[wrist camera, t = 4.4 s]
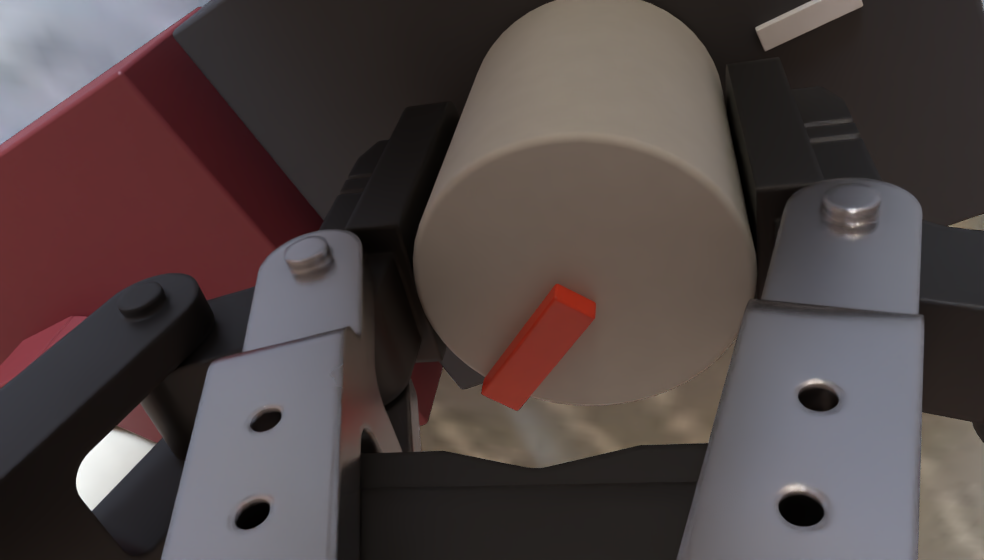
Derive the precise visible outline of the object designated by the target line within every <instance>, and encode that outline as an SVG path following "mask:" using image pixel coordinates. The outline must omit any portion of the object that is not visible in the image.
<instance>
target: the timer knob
mask: <svg viewBox="0 0 984 560" xmlns="http://www.w3.org/2000/svg"><path fill="white" fill-rule="evenodd" d="M413 272H414V280H415V285H416V289H417V294H418V297H419V300H420V302H421V305H422V307H423V310H424V313H425V315H426V316H427V318H428V320H429V322H430V324H431V325H432V327H433V329H434V330H435V332H436V333H437V334H438V336H439V337H440V338H441V340H442V341H443V342H444V343H445V344H446V345H447V347H448V348H449V349H450V350H451V351H452V352H453V353H454V354H455V355H456V356H457V357H458V358H460V359H461V360H462V361H463V362H464V363H466V364H467V365H468V366H469V367H471V368H472V369H473V370H475V371H476V372H478V373H479V374H481V375H482V376H484V377H485V378H484V381H483V386H482V391H481V394H482V395H484V396H486V397H488V398H490V399H492V400H494V401H497V402H499V403H501V404H503V405H505V406H507V407H509V408H512V409H514V410H516V411H518V410H519V409H520V408H521V407H522V406H523V404H524V403H525V402H526V401H527V400H528V398H529V397H533V398H536V399H540V400H545V401H550V402H554V403H561V404H570V405H586V406H600V405H614V404H621V403H627V402H633V401H638V400H642V399H645V398H649V397H653V396H656V395H659V394H661V393H664V392H667V391H669V390H672V389H674V388H676V387H678V386H680V385H682V384H684V383H686V382H688V381H690V380H691V379H693V378H694V377H696V376H697V375H699V374H700V373H702V372H703V371H705V370H706V369H707V368H708V367H709V366H711V365H712V364H713V363H714V362H715V361H716V360H718V359H719V358H720V357H721V355H722V354H723V353H724V352H725V351H726V350H727V349H728V348H729V347H730V345H731V344H732V343H733V341H734V340H735V338H736V337H737V335H738V333H739V329H740V326H741V322H742V318H743V315H744V311H745V308H746V305H747V303H748V301H749V299H751V298H753V299H754V296H755V292H756V283H757V261H756V252H755V247H754V243H753V238H752V233H751V228H750V223H749V218H748V213H747V208H746V203H745V198H744V193H743V189H742V184H741V179H740V174H739V169H738V164H737V159H736V154H735V149H734V144H733V139H732V135H731V130H730V125H729V120H728V115H727V110H726V105H725V100H724V95H723V90H722V86H721V82H720V78H719V74H718V72H717V69H716V67H715V64H714V62H713V60H712V58H711V56H710V55H709V53H708V51H707V50H706V48H705V46H704V45H703V44H702V42H701V41H700V40H699V39H698V38H697V36H696V35H695V34H694V33H693V32H692V31H691V30H690V29H689V28H688V27H687V26H686V25H685V24H684V23H682V22H681V21H680V20H679V19H677V18H676V17H674V16H673V15H671V14H670V13H668V12H667V11H665V10H663V9H661V8H659V7H657V6H655V5H653V4H651V3H648V2H645V1H642V0H555V1H552V2H549V3H547V4H544V5H542V6H540V7H538V8H536V9H534V10H532V11H530V12H529V13H527V14H526V15H524V16H523V17H521V18H520V19H518V20H517V21H515V22H514V23H513V24H512V25H511V26H510V27H509V28H508V29H507V30H505V31H504V32H503V33H502V34H501V36H500V37H499V38H498V39H497V40H496V42H495V43H494V44H493V45H492V47H491V48H490V50H489V51H488V53H487V55H486V56H485V58H484V59H483V62H482V64H481V66H480V68H479V71H478V73H477V75H476V78H475V81H474V83H473V86H472V88H471V91H470V94H469V96H468V99H467V101H466V104H465V107H464V109H463V112H462V114H461V117H460V120H459V122H458V125H457V127H456V130H455V133H454V135H453V138H452V140H451V143H450V146H449V148H448V151H447V153H446V156H445V159H444V161H443V164H442V166H441V169H440V172H439V174H438V177H437V179H436V182H435V185H434V187H433V190H432V193H431V195H430V198H429V200H428V203H427V206H426V208H425V211H424V213H423V216H422V219H421V221H420V224H419V227H418V231H417V234H416V238H415V242H414V252H413Z"/></svg>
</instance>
